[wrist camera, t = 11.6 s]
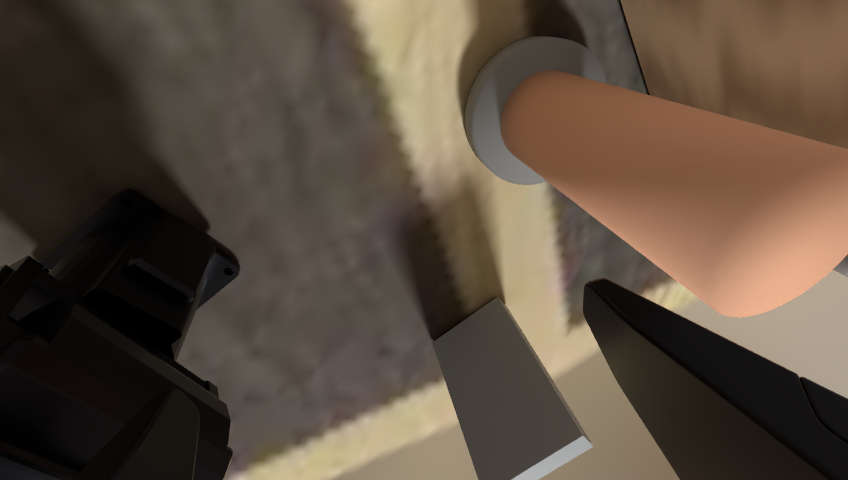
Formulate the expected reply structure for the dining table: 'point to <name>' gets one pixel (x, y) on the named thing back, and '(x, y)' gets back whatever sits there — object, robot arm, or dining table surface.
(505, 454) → the door frame
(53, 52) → the dining table surface
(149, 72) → the dining table surface
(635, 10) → the door
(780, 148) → the door stop
